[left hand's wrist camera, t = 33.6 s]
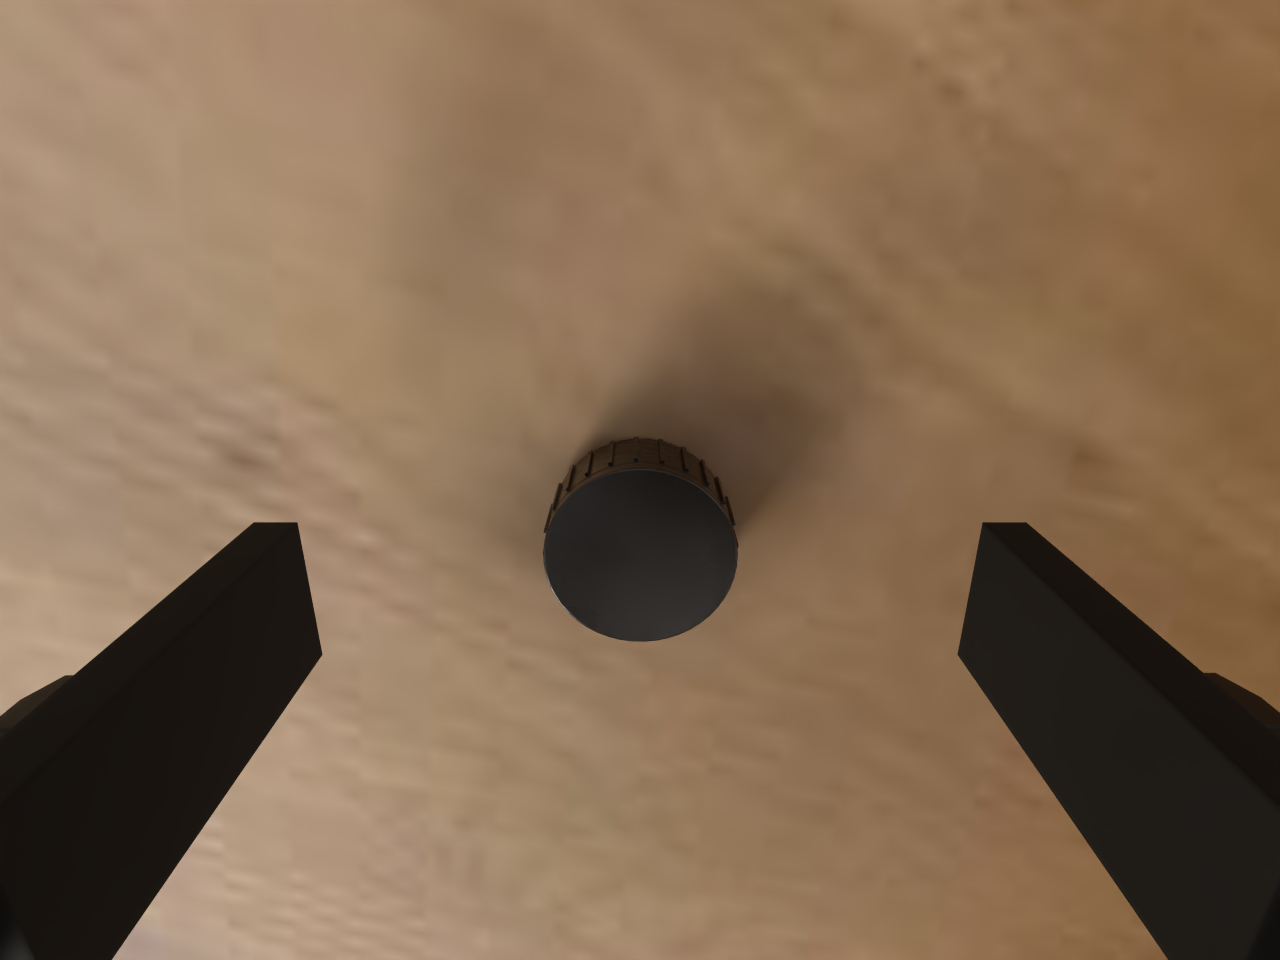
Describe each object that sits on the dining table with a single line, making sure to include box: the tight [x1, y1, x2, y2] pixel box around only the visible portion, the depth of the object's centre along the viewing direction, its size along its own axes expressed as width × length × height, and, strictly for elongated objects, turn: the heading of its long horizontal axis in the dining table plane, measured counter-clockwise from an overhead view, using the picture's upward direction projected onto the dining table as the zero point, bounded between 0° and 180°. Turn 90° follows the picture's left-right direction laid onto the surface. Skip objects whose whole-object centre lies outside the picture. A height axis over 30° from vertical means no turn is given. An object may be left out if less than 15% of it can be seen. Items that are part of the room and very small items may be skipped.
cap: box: [543, 437, 738, 642], centre depth 15 cm, size 4×4×2 cm
